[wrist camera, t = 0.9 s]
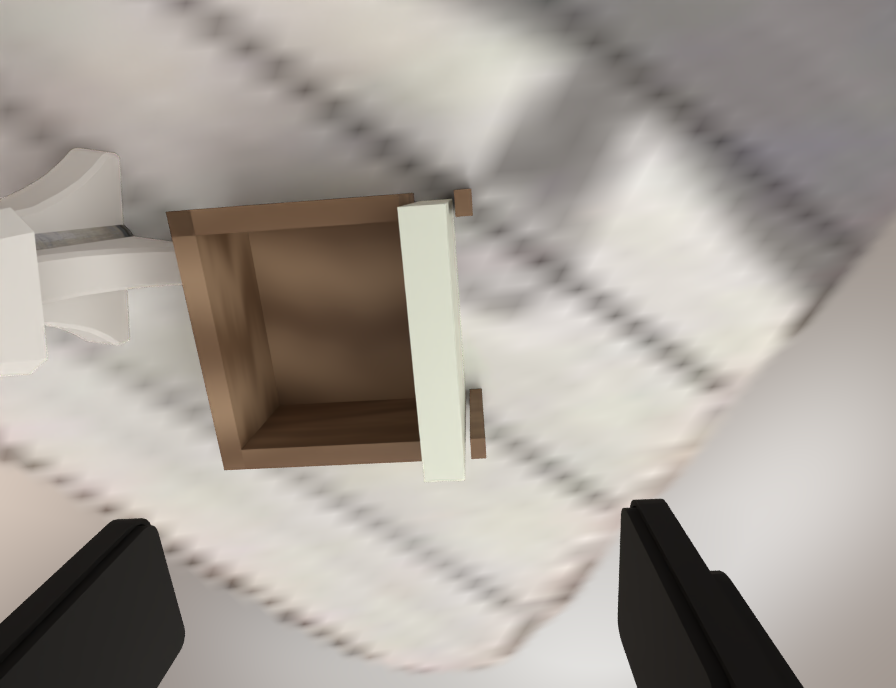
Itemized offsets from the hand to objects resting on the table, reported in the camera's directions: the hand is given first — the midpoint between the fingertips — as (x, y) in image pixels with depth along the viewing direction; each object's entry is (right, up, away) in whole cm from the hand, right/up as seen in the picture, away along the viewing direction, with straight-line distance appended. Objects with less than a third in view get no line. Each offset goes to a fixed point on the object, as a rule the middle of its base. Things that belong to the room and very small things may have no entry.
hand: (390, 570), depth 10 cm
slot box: (-5, +7, +22) cm, 24 cm away
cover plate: (+1, +7, +22) cm, 23 cm away
